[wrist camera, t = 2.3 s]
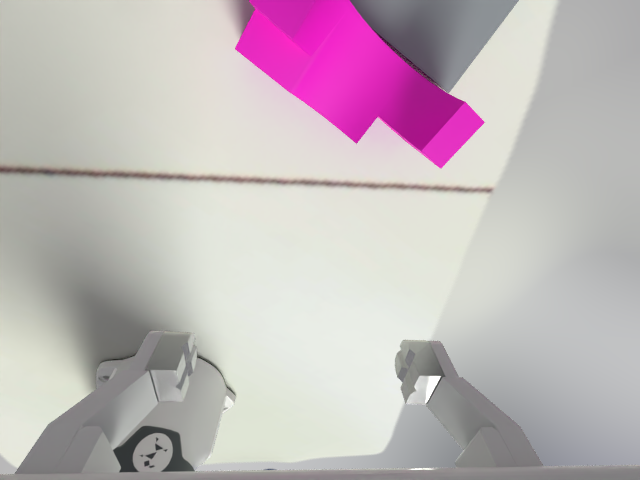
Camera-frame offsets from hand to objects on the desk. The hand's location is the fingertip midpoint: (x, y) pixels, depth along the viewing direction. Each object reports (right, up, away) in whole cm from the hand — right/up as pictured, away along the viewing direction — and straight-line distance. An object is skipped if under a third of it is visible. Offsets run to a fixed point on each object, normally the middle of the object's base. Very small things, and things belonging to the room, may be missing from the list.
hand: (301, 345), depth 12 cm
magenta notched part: (+3, +17, +12) cm, 21 cm away
